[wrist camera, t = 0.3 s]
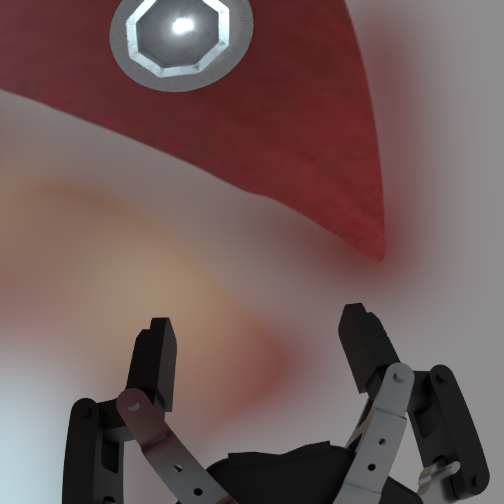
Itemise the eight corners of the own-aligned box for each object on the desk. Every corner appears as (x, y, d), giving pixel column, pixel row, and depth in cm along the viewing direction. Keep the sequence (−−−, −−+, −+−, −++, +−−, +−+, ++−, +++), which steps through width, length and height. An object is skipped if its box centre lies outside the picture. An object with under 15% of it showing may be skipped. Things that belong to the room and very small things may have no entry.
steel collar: (87, 48, 22) (75, 53, 20) (179, -53, 14) (176, -60, 12) (185, 113, 32) (183, 123, 29) (281, 26, 24) (288, 29, 22)
